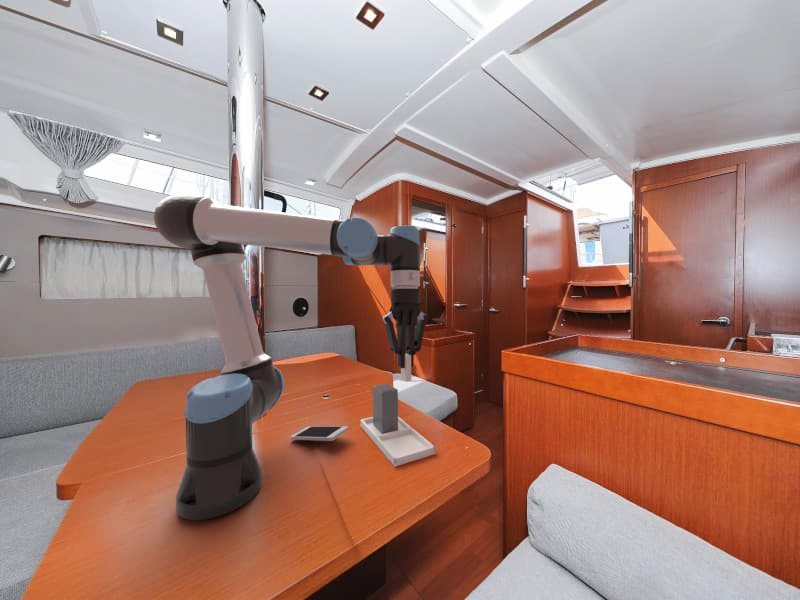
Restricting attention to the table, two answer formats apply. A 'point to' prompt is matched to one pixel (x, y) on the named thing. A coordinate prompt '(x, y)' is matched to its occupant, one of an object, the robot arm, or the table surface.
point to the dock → (399, 442)
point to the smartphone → (320, 433)
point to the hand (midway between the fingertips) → (406, 379)
